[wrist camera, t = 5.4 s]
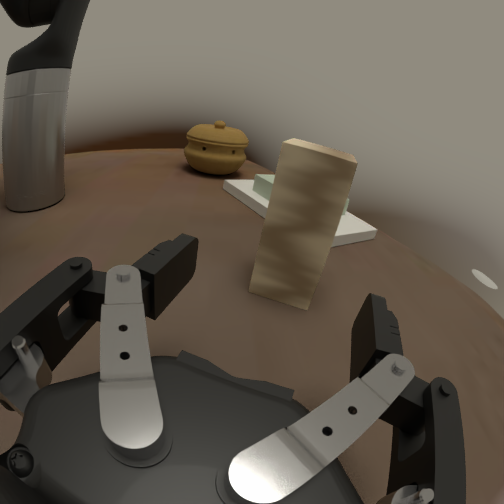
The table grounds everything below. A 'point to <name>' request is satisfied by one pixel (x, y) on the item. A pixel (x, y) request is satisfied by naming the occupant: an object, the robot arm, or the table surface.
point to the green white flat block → (258, 200)
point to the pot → (215, 148)
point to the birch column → (301, 221)
